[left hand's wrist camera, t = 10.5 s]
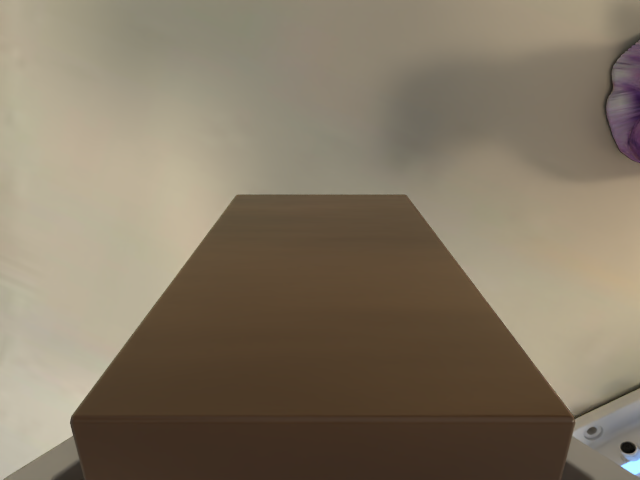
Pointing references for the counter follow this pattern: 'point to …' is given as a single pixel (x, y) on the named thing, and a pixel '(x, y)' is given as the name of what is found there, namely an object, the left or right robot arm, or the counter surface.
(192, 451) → the bar
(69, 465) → the left robot arm
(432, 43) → the counter surface
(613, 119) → the figurine
